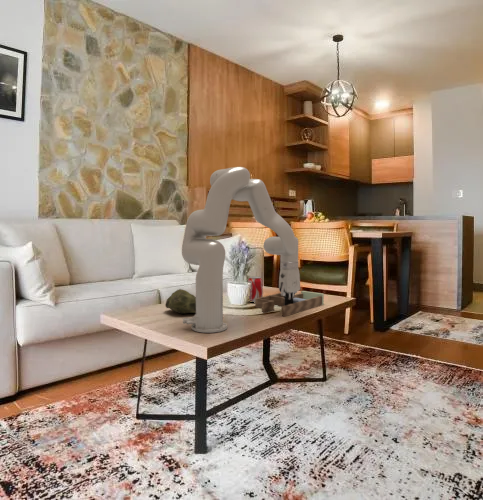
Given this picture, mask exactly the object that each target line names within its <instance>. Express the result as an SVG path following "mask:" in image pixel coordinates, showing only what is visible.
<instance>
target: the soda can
mask: <svg viewBox="0 0 483 500" xmlns="http://www.w3.org/2000/svg"><path fill="white" fill-rule="evenodd" d="M248 282H250V283H251V289H250V296H249V299H250V301H252V302H255V298H260V297H264V296H263V293H264V292H263V291H264V289H263V288H264V287H263V286H264V284H263V283H264V282H263V280H262V277H261V276H260V275H259V276H257V275H255V276H254V275H252V276H251V275H250V276H248V279H247V283H248Z"/></svg>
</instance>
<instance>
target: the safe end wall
mask: <svg viewBox="0 0 483 500" xmlns="http://www.w3.org/2000/svg"><path fill="white" fill-rule="evenodd" d="M300 293H302V294H303V299H311V298H314V297H318V296H322V305H321V306H323V305H324V302H325V300H324V297H325V296H324V295H325V293H321V292H315V291H314V292H313V291H307V290H301V291H300Z"/></svg>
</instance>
